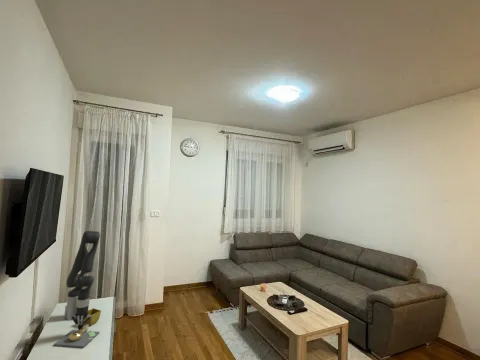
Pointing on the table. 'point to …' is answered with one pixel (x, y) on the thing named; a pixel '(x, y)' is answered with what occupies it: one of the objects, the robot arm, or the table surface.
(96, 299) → the table surface
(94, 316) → the flower pot
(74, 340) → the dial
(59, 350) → the table surface
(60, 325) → the table surface
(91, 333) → the board
